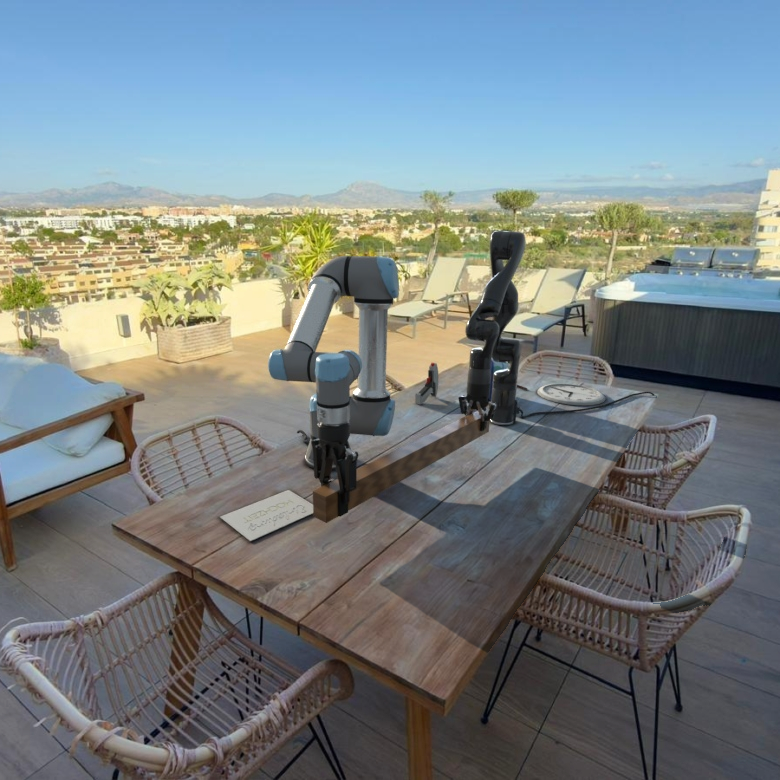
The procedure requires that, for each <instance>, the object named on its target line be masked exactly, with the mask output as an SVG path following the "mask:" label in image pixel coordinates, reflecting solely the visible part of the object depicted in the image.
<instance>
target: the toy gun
mask: <svg viewBox="0 0 780 780" xmlns="http://www.w3.org/2000/svg"><path fill="white" fill-rule="evenodd" d="M438 390H439V368H438V364H437V362H431V363H430V365H429V368H428V370H427V377H426V382H425V384H424V386H423V387H422V388H421V389H420V391H418V392H415V395H414V398H415V399H414V403H415V404H417V405H419V406H420V405H422V404H423V403H425V402H426V401H427V399H428V398H429V397H430V396H431V397H432V398H437V397H438Z"/></svg>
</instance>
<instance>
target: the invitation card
mask: <svg viewBox="0 0 780 780" xmlns="http://www.w3.org/2000/svg"><path fill="white" fill-rule="evenodd" d="M311 515H313V503H311V502H309V501H308V500H306V499H305V498H303V497H301V496H299V495H298V494H296V493H295V492H294V491H292V490H291V489H287V490H284V491H282V492H279V493H277V494H274V495H272V496H269V497H266V498H264V499H261V500H259V501H257V502H253V503H251V504H249V505H246V506H243V507H241V508H239V509H236V510H233V511H231V512H228V513H225V514H223V515H221V516H219V518H220V519H221V520H222V521H224V522H225V523H226V524H228V525H229V526H230V527H231V528H232V529H233V530H235V531H237V533H239V534H240V535H241V536H243V537H244V538H245V539H247V541H248V542H253V541H255V540H257V539H259V538H261V537H263V536H267V535H268V534H270V533H273V532H276V531H277V530H280V529H281V528H284V527H286V526H288V525H291V524H293V523H295V522H297V521H300V520H302V519H304V518H307V517H309V516H311Z"/></svg>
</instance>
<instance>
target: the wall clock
mask: <svg viewBox="0 0 780 780" xmlns="http://www.w3.org/2000/svg"><path fill="white" fill-rule="evenodd" d="M537 395H538V396H540V397H541V398H543V399H545V400H547V401H550V402H553V403H557V404H562V405H570V406H580V407H581V406H583V407H585V406H586V407H587V406H597V405H601V404H603V403H604V402H605V401H606V396H605V394H603V393H602V392H601V391H598V390H597V389H595V388H592V387H588V386H585V385H579V384H573V383H550V384H545V385H543V386H541V387H539V388H538V389H537Z"/></svg>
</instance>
